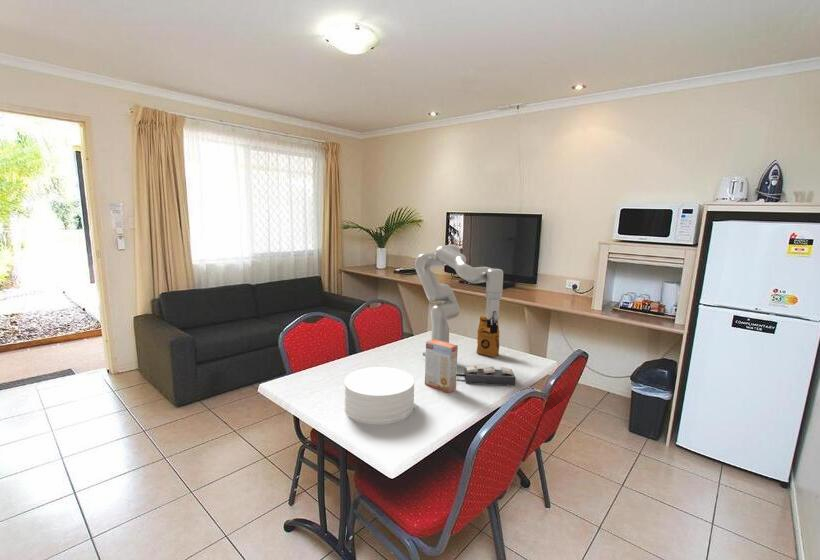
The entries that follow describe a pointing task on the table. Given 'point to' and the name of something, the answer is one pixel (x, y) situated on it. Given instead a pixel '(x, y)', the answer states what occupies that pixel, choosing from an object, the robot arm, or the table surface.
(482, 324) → the coffee package
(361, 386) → the plate stack
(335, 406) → the table surface
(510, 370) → the rocker right
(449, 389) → the cracker box
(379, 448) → the table surface
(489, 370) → the plate
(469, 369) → the block
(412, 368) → the table surface
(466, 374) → the power strip
